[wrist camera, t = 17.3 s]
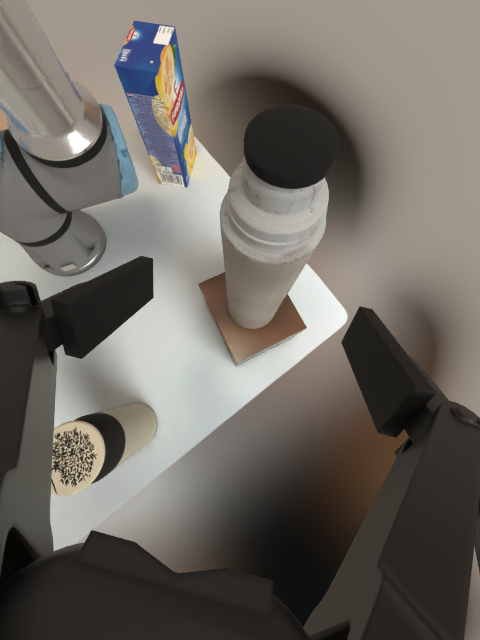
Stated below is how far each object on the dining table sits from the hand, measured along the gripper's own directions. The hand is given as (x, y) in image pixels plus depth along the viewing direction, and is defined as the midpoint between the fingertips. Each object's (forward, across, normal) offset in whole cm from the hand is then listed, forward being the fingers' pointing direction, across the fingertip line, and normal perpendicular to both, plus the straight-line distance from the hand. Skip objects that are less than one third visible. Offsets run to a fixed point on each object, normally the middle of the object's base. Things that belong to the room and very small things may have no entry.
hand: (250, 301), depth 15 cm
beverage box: (+53, -26, +6) cm, 59 cm away
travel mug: (+11, -16, -36) cm, 41 cm away
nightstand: (+28, 0, -18) cm, 34 cm away
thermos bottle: (+22, 0, -11) cm, 24 cm away
